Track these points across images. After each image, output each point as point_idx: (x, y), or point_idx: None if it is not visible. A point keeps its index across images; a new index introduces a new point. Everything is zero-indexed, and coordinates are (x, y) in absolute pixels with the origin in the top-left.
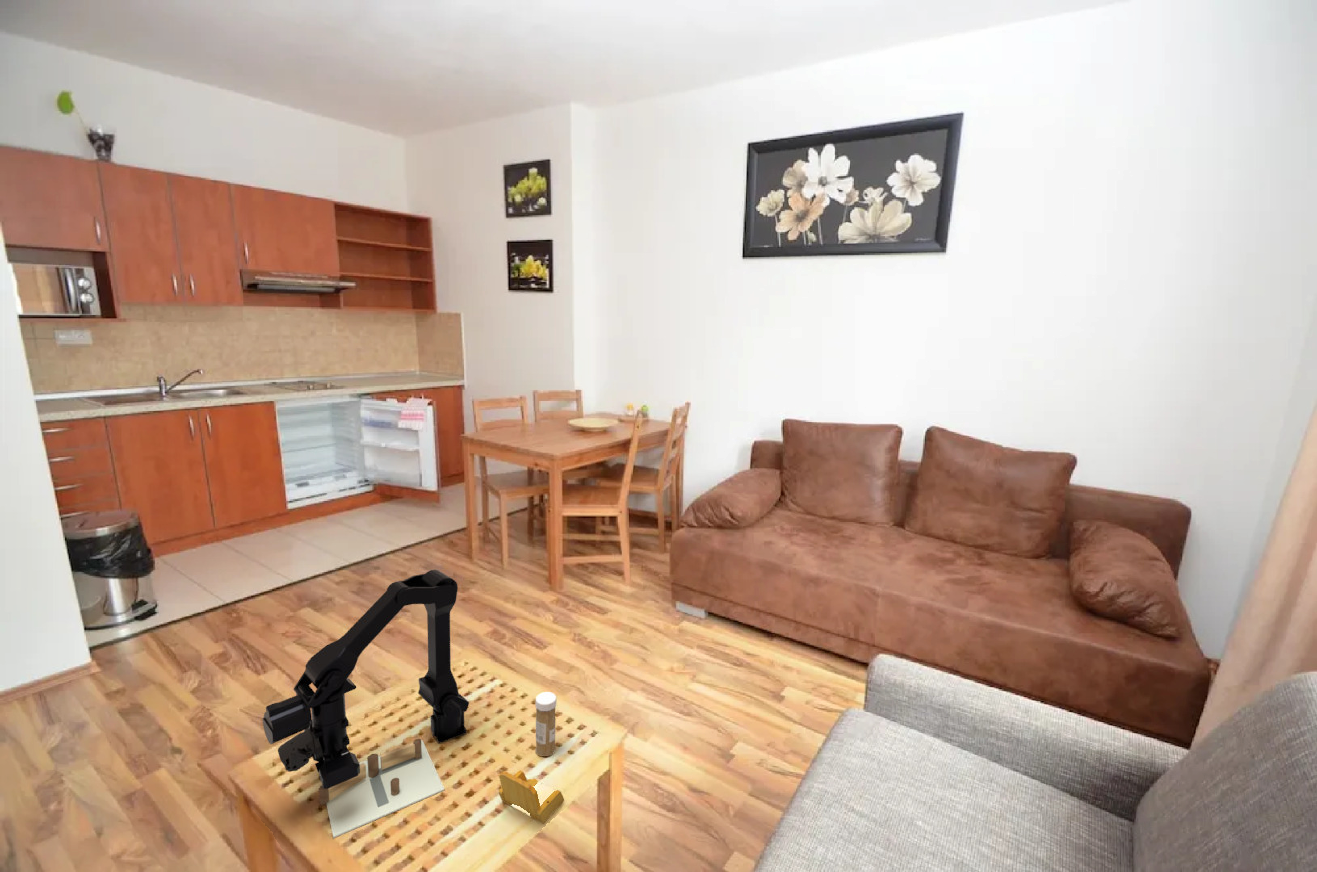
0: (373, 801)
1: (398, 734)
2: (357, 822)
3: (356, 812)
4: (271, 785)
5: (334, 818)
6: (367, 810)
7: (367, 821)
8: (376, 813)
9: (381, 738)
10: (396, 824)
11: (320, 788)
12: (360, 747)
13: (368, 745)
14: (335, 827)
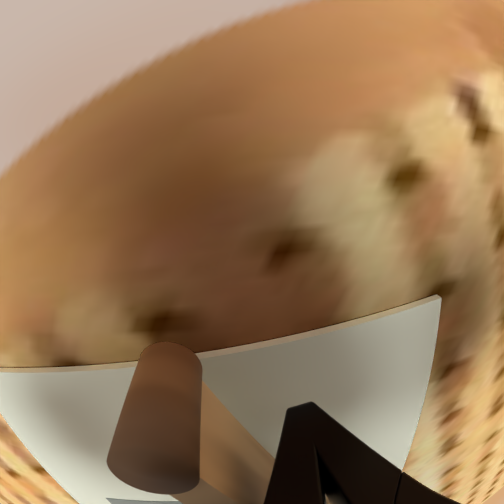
0: (139, 496)
1: (445, 476)
2: (37, 447)
3: (86, 456)
4: (475, 44)
5: (54, 391)
6: (94, 478)
7: (45, 466)
8: (79, 489)
9: (467, 446)
10: (48, 497)
11: (141, 454)
12: (483, 404)
13: (472, 424)
14: (11, 385)
